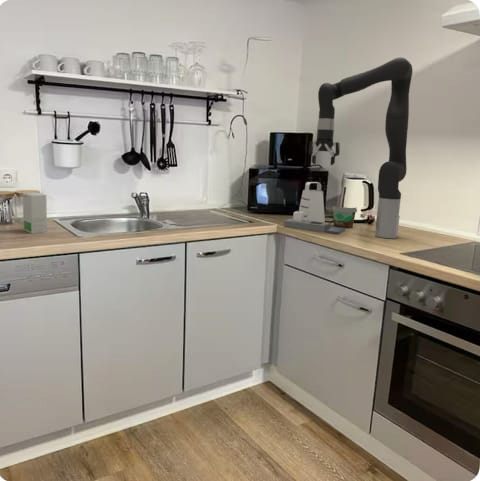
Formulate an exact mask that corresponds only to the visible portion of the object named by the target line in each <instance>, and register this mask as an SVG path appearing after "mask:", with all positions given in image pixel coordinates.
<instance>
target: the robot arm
mask: <svg viewBox="0 0 480 481" xmlns="http://www.w3.org/2000/svg"><path fill="white" fill-rule="evenodd" d="M412 77H413V65H412V64H411V62H410V61H409V60H408V59H407V58H405V57H401V56H400V57H395V58H394V59H392V60H390V61H388V62H385V63H383V64H382V65H379V66H377V67H375V68H372V69H370V70H367V71H365V72H361V73H358V74H353V75H351V76H348V77H345V78H343V79H341V80H340V81H338V82H336V83H335V82H334V83H333V84H332V83H329V82H324V83H322V84H321V85H320V86H319V89H318V94H317V95H318V96H317V100H318V106H319V107H318V108H319V112H318V120H317V127H316V130H317V131H316V141H309V146H308V155H311V156H312V157H311V163H312V165H316V164H317V155H318V153H319V152H328V153H329V154H330V166H333V165H334V164H335V163H336V162H335V161H336V157H338V156H340V150H341V149H340V147H341V146H340V142H339V141H338V142H337V141H336V142H334V133H335V113H336V112H335V111H336V110H335V107H334V103H333V102H334V101H335V100H337V99H339V98H342V97H344V96H347V95H350V94H354V93H357V92H360V91H362V90H366V89H367V88H369V87H371V86H374V85H375V84H379V83H383V82H388V81H390V82H391V83H390V84H391V88H390V89H391V93H390V100H389V103H388V106H387V110H386V113H385V114H386V115H385V125H384V126H385V127H384V128H385V129H384V130H385V136H386V140H387V144H388V149H389V150H388V151H389V156H388V161H385V162H383V164H381V166H380V168H379V170H378V171H379V172H378V178H377V179H378V181H377V192H378V201H377V202H378V203H377V211H376V212H377V213H376V220H375V230H374V237H377V238H382V239H394V240H395V239H396V238H397V237H398V232H399V223H400V208H401V201H402V200H401V199H402V192H401V191H400V190H399V185H400V184H399V183H400V182H401V181H403V180H404V179H405V177H406V175H407V168H408V167H407V144H408V143H407V142H408V129H409V114H410V113H409V112H410V111H409V109H410V108H409V107H410V98H409V97H410V96H409V95H410V89H411V88H410V87H411V82H412ZM315 146H316V148H315V149H314V147H315ZM333 146H334V148H335V151H334V150H333Z"/></svg>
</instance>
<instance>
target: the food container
mask: <svg viewBox="0 0 480 481" xmlns="http://www.w3.org/2000/svg"><path fill="white" fill-rule="evenodd" d="M331 210H332V211H333V216H332V217H333V227H338V228H346V229H353V226H354V221H355V217H356V213H357V212H358V209H357V207H340V206H335V205H333V206H332V209H331Z"/></svg>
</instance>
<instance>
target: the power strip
mask: <svg viewBox="0 0 480 481" xmlns="http://www.w3.org/2000/svg"><path fill="white" fill-rule="evenodd" d="M283 227H284V228H289V229H297V230H306V231H312V232H314V231H315V232H320V233H322V232H323V233H325V231H326V230H328V229H330V228H331V222H326V221H325V222H318V221H309V220H304V222H296V221H293V217H292V218H289V219H285V220H284V221H283Z"/></svg>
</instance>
